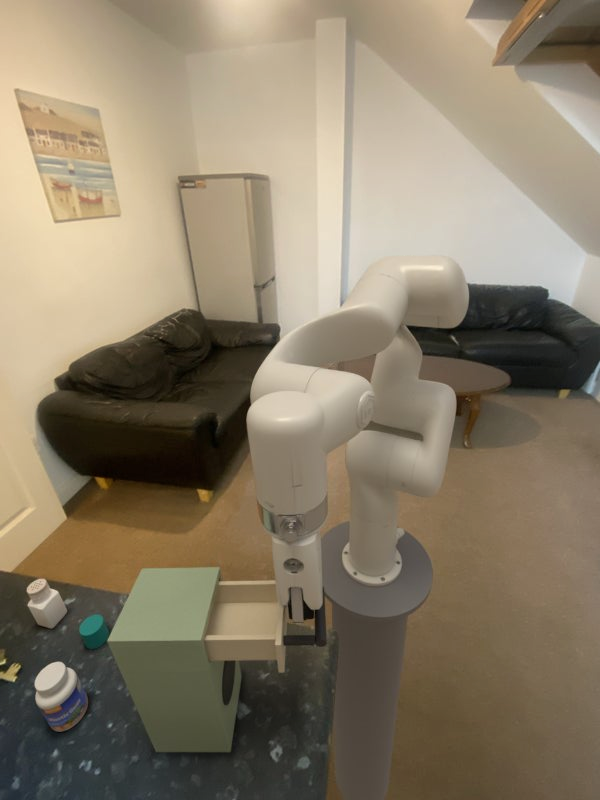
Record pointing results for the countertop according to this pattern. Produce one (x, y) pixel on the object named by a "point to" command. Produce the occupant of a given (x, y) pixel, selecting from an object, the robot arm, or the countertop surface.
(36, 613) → the salt shaker
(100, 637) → the pod
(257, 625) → the drawer
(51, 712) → the pill bottle
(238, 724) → the countertop surface
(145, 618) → the green cabinet
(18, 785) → the countertop surface
